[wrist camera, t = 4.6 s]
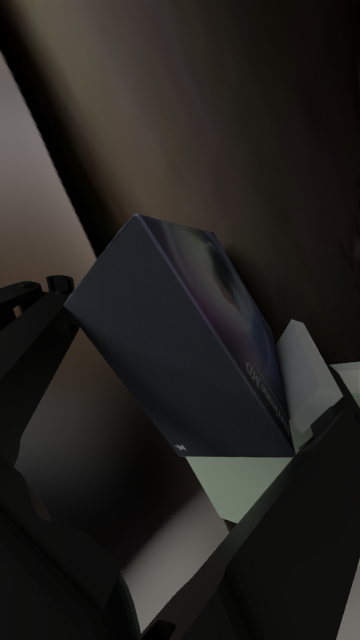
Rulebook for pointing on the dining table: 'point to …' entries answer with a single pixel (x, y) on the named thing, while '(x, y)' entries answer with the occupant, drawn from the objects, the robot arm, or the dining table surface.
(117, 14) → the dining table surface
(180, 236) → the small box
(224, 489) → the base brick
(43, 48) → the dining table surface
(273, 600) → the robot arm
